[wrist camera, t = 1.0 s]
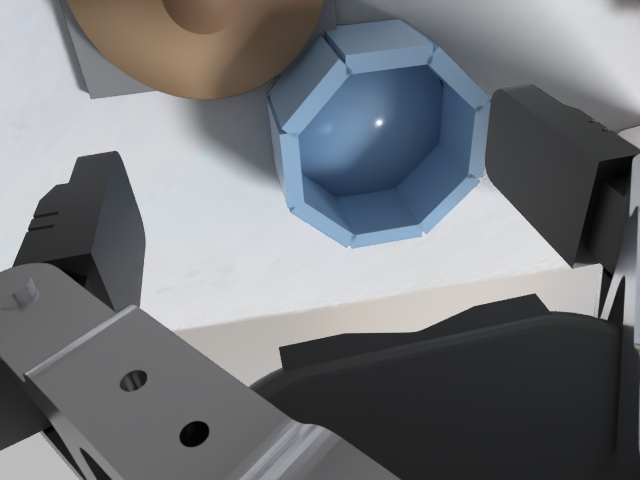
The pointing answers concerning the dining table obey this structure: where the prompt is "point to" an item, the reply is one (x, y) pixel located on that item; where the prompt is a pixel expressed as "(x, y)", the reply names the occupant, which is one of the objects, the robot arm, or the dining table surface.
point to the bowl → (376, 133)
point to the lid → (199, 41)
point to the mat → (114, 82)
